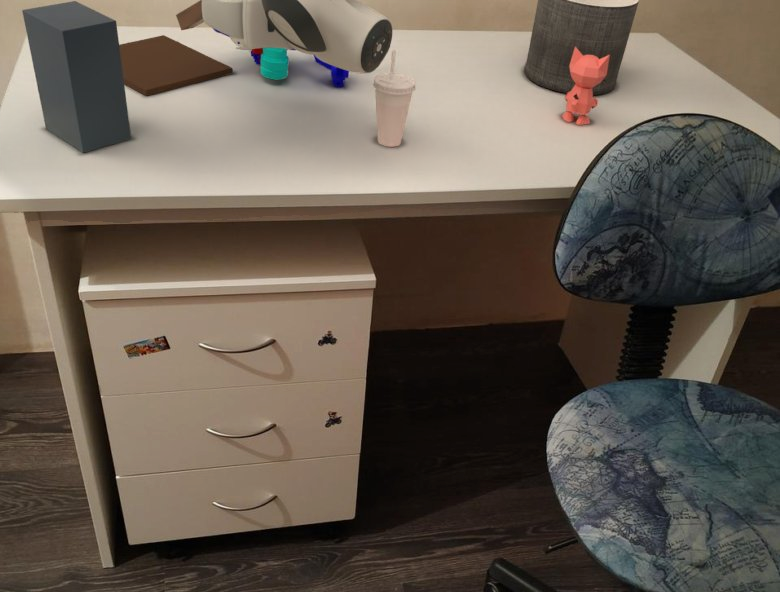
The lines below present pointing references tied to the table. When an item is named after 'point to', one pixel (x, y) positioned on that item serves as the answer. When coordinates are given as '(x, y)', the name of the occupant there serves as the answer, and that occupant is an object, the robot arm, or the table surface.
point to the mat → (166, 65)
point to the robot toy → (283, 62)
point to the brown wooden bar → (191, 16)
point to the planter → (578, 39)
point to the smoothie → (392, 104)
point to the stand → (78, 74)
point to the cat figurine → (584, 85)
